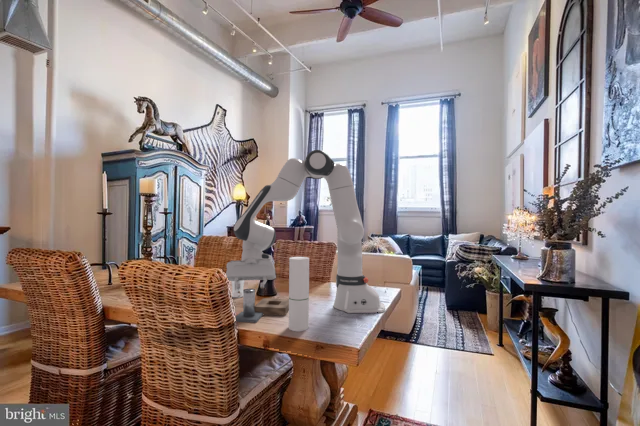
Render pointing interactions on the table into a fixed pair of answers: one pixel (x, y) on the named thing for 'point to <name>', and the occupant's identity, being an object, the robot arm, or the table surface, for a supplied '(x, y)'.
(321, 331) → the table surface
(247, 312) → the metal plug
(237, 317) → the slate mat
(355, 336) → the table surface
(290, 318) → the cylindrical container
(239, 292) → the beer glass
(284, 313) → the walnut bore block
